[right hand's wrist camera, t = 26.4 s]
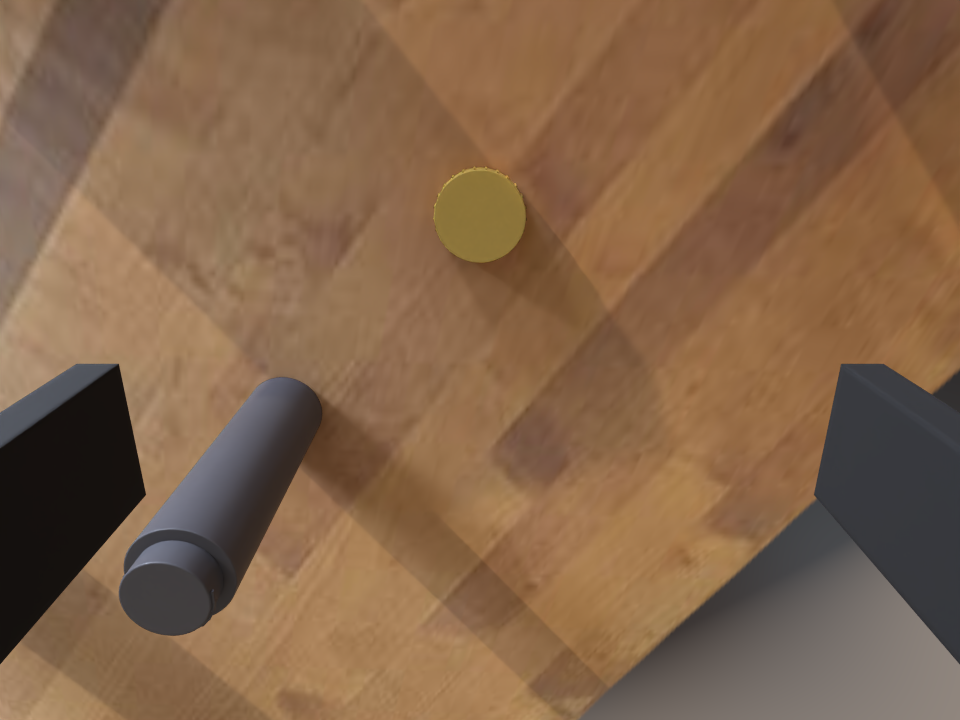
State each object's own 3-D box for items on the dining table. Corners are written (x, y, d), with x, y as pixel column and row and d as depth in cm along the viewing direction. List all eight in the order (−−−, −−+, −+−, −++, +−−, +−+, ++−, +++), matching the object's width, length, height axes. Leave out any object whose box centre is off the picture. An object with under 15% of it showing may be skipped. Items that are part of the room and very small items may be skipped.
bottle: (254, 443, 45) (118, 647, 28) (244, 377, 43) (92, 552, 26) (325, 442, 45) (232, 645, 28) (318, 376, 43) (213, 550, 26)
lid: (538, 183, 39) (540, 186, 37) (507, 269, 40) (509, 276, 39) (450, 153, 38) (449, 155, 36) (423, 241, 40) (421, 247, 38)
